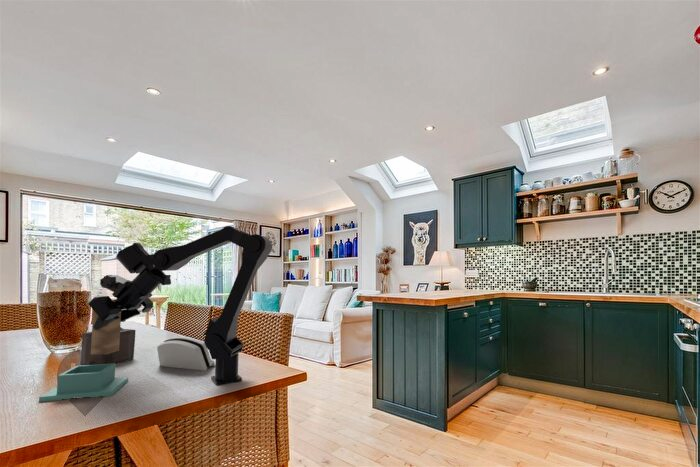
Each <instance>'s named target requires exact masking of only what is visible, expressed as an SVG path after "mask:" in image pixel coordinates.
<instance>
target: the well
mask: <svg viewBox="0 0 700 467" xmlns="http://www.w3.org/2000/svg"><path fill="white" fill-rule="evenodd" d="M128 382H129V376H128V377H127V376H126V377H116V363H112V364H95V365H82V364H79V365H75V366H73V367H71V368H70V369H68V370H66V371H64V372H62V373H60V374H59V375H57V386H55V387H53V388H52V389H51V390H48V391H47V392H45V393H43V394H42V395H40V396H39V397H38V403H39V402H40V403H41V402H52V401H53V402H55V401H63V400H62V399H67V400H71V399H70V398H74V397H75V398H77V397H91V398H100V397H99V396H103V397H111V396H112V397H113V395H114V394H115V393H116V392H118V391H119V390H120V389H121V388H122V387H123V386H124V385H126V383H128Z"/></svg>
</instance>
